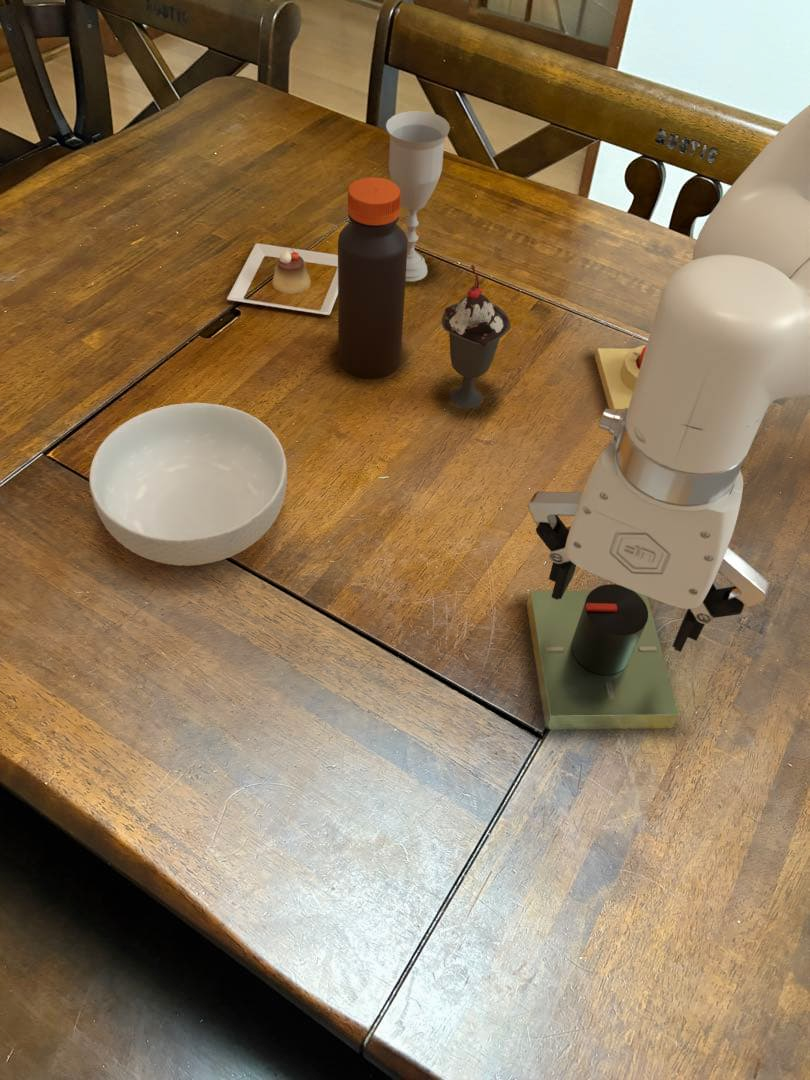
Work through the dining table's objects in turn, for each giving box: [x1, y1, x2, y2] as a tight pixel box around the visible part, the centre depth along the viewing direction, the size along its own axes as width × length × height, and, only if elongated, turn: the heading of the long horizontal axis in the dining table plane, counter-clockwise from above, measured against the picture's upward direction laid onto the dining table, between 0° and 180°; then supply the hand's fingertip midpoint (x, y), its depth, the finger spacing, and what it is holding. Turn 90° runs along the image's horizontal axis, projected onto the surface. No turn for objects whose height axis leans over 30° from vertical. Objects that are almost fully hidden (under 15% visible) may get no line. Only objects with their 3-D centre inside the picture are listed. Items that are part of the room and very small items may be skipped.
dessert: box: [226, 242, 338, 316], centre depth 106 cm, size 12×12×5 cm
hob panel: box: [526, 590, 679, 730], centre depth 74 cm, size 10×12×3 cm
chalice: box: [385, 110, 451, 282], centre depth 104 cm, size 7×7×18 cm
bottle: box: [337, 176, 408, 380], centre depth 92 cm, size 7×7×20 cm
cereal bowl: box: [88, 402, 288, 567], centre depth 81 cm, size 17×17×7 cm
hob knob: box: [572, 583, 648, 675], centre depth 71 cm, size 5×5×6 cm
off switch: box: [594, 344, 647, 412], centre depth 98 cm, size 10×10×4 cm
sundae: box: [441, 264, 512, 409], centre depth 91 cm, size 7×7×15 cm
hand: (621, 610), depth 70 cm, fingers open, 9 cm apart
